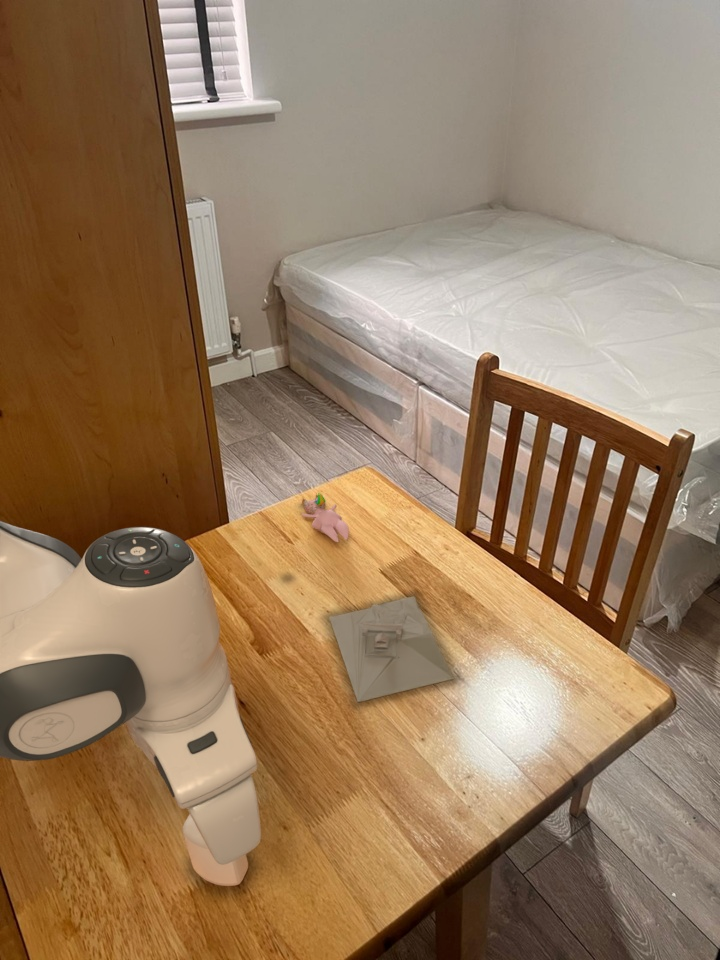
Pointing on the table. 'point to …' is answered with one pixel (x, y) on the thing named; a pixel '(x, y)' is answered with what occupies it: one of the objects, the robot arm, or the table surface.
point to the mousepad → (389, 649)
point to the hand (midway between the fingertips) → (205, 795)
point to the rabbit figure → (325, 518)
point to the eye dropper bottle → (211, 859)
